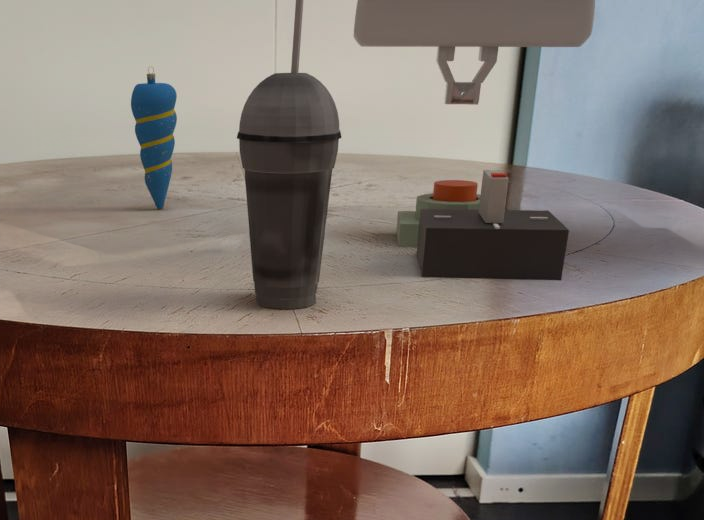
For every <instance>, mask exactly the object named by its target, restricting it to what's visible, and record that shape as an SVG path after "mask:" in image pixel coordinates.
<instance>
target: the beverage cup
mask: <svg viewBox="0 0 704 520" xmlns="http://www.w3.org/2000/svg"><path fill="white" fill-rule="evenodd" d="M303 12H304V0H295V8H294V22H293V37H292V52H291V66H290V72H274V73H273V74H270V75H269V76H267V77H266V78H264V79H263V80H261V81H260V82H259V83H258V84H257V85H256V86H255V87H254V88H253V89H252V90H251V92H250V93H249V95H248V97H247V98H246V101H245V103H244V105H243V107H242V110H241V114H240V119H239V125H238V126H239V128H238V132H237V135H236V139H238V141H239V143H238V144H239V156H240V160H241V166H242V169H244V180H245V181H244V182H245V193H246V207H247V218H248V219H247V220H248V231H249V245H250V257H251V271H252V282H253V286H254V292H255V303H256V304H257V305H259V306H261V307H265V308H269V309H277V310H294V309H295V310H296V309H302V308H308V307H311V306H313V305H314V304H316V298H317V292H318V285H319V282H320V278H321V277H320V276H321V267H322V259H323V250H324V241H325V232H326V225H327V218H328V208H329V202H330V201H329V200H330V191H331V185H332V176H333V170H334V169H335V165H336V161H337V156H338V152H339V140H340V139H342V132H341V130H340V118H339V112H338V109H337V105H336V102H335V101H334V98H333V95H332V94H331V93H330V90H328V88H327V87H326V86H325V85H324V84H323V83H322V82H321V80H319V79H318V78H316V77H315V76H313V75H311V74H309V73H307V72H299V68H300V58H301V57H300V54H301V41H302V28H303V27H302V26H303Z"/></svg>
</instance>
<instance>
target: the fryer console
mask: <svg viewBox="0 0 704 520" xmlns="http://www.w3.org/2000/svg"><path fill="white" fill-rule="evenodd" d="M569 234H570V229H569V228H568V227H566V225H565V224H563V223H562V222H561V221H560V220H559V219H558V218H557V217H556V216H555V215H554V214H553V213H552V212H551V211H549V210H531V209H529V210H528V209H527V210H525V209H524V210H523V209H505V211H504V219H503V223H485V222H484V220H483V219H482V217H481V215H480V214H479V210H455V209H420V219H419V231H418V242H417V247H416V258H417V263H418V267H419V271H420V276H421V278H436V279H437V278H441V279H443V278H444V279H482V280H483V279H485V280H487V279H488V280H491V279H492V280H527V281H528V280H529V281H531V280H532V281H533V280H534V281H539V280H540V281H562V276H563V272H564V271H563V270H564V264H565V259H566V253H567V246H568V239H569Z"/></svg>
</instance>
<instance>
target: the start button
mask: <svg viewBox="0 0 704 520" xmlns="http://www.w3.org/2000/svg"><path fill="white" fill-rule="evenodd" d="M478 185H479V184H478V183H477V182H476V181H472V180H463V179H445V180H437V181H434V182H433V189H432V193H433V200H437V201H446V202H470V201H476V195H477V194H478V187H479V186H478Z"/></svg>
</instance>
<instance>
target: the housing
mask: <svg viewBox="0 0 704 520" xmlns="http://www.w3.org/2000/svg"><path fill="white" fill-rule="evenodd" d="M480 196H481V194H480V193H479V194H478V193H477V195H476V201H470V202H446V201H437V200H433V192H432V193H423V194H420V195H417V196H416V201H415V210H398V211H397V217H396V219H397V220H396V240H397V246H398V248H417V242H418V231H419V219H420V209H455V210H479V204H480Z"/></svg>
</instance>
